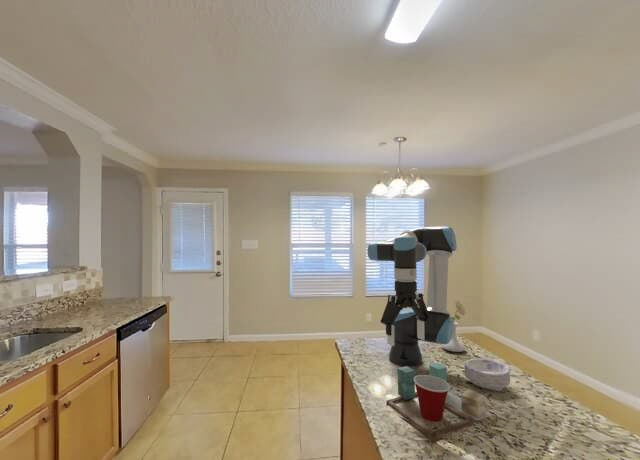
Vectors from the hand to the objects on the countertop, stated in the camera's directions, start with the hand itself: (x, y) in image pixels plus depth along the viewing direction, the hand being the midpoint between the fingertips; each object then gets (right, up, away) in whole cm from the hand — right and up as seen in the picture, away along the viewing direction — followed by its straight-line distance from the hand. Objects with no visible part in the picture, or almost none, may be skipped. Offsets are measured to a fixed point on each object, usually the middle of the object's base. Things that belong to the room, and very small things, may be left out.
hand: (406, 341), depth 104 cm
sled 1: (+4, -20, -9) cm, 22 cm away
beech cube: (+19, -19, -9) cm, 28 cm away
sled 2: (+16, -21, -4) cm, 26 cm away
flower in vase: (+40, -23, +50) cm, 68 cm away
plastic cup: (+5, -21, -11) cm, 24 cm away
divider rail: (+12, -21, -5) cm, 24 cm away
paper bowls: (+34, -21, +11) cm, 42 cm away
